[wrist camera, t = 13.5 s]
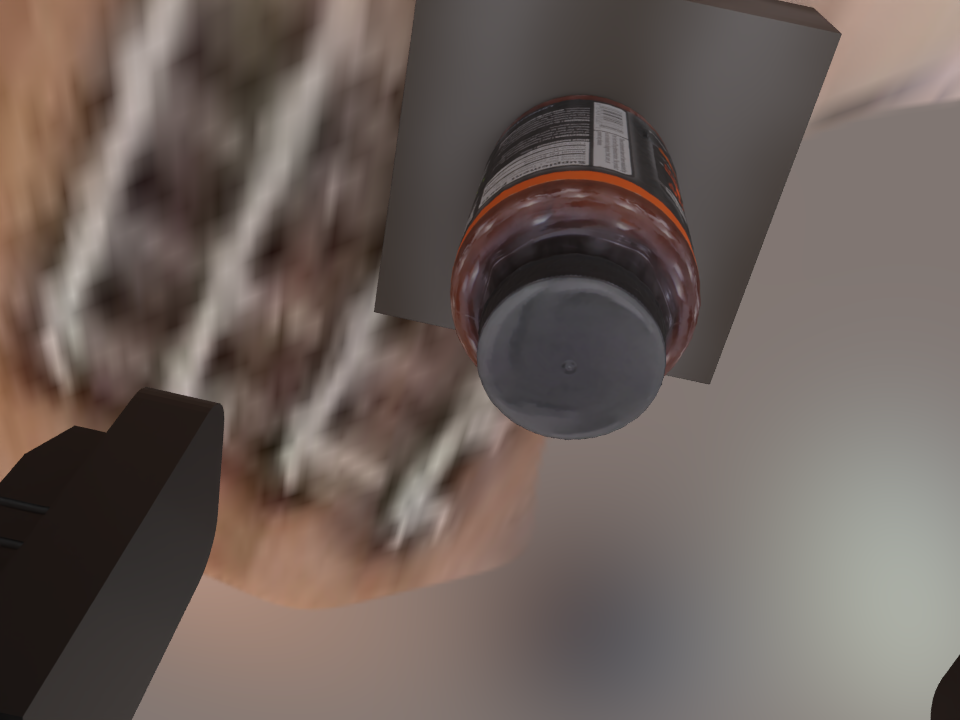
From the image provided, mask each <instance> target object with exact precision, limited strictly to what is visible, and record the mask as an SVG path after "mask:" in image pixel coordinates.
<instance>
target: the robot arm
mask: <svg viewBox="0 0 960 720" xmlns="http://www.w3.org/2000/svg"><path fill="white" fill-rule="evenodd" d="M223 431H224V411H223V407H222V405H221V404H220V403H215V402H211V401H207V400H202V399H198V398H193V397H189V396H184V395H180V394H176V393H171V392H167V391H162V390H158V389H153V388H149V387H144V388H142V389H141V390H139V391H138V392H137V393H136V394H135V396H134V397H133V398H132V399H131V401H130V402H129V403H128V405H127V406H126V407H125V409H124V410H123V411H122V413H121V414H120V415H119V417H118V418H117V419H116V421H115V422H114V423H113V425H112V426H111V427H110V429H109V430H108V431H107V433H106V432H101V431H97V430H92V429H88V428H83V427H79V426H73V427H72V428H70V429H68V430H66V431H65V432H63V433H61V434H59V435H58V436H56V437H54V438H52V439H50V440H49V441H47V442H45V443H43V444H42V445H40V446H38V447H36V448H35V449H33V450H31V451H29V452H28V453H26V454H24V455H23V457H22V458H21V459H20V460H19V461H18V463H17V464H16V465H15V466H14V467H13V468H12V470H11V471H10V472H9V473H8V474H7V475H6V477H5V478H4V479H3V480H2V481H1V482H0V720H132V718H133V716H134V714H135V712H136V710H137V708H138V706H139V704H140V702H141V700H142V697H143V695H144V693H145V691H146V689H147V687H148V685H149V683H150V681H151V679H152V677H153V675H154V673H155V671H156V669H157V667H158V665H159V663H160V661H161V659H162V657H163V655H164V653H165V651H166V649H167V647H168V645H169V642H170V641H171V639H172V637H173V634H174V632H175V630H176V628H177V626H178V624H179V622H180V620H181V618H182V616H183V614H184V611H185V610H186V608H187V606H188V604H189V602H190V600H191V598H192V596H193V594H194V592H195V590H196V588H197V586H198V584H199V581H200V579H201V577H202V575H203V572H204V570H205V567H206V564H207V561H208V558H209V555H210V551H211V548H212V544H213V540H214V536H215V531H216V525H217V517H218V503H219V489H220V474H221V460H222V445H223ZM931 720H960V655H959V657H958V658H957V659H956V660H955V662H954V663H953V665H952V666H951V667H950V669H949V670H948V671H947V673H946V674H945V675H944V677H943V678H942V680H941V681H940V683H939V685H938V687H937V689H936V691H935V694H934V697H933V702H932V707H931Z"/></svg>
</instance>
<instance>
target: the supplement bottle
mask: <svg viewBox="0 0 960 720" xmlns="http://www.w3.org/2000/svg"><path fill="white" fill-rule="evenodd" d="M450 301H451V311H452V317H453V321H454V325H455V329H456V332H457V335H458V337H459V340H460V342H461V343H462V345H463V347H464V349H465V351H466V353H467V354H468V356H469V357H470V358H471V360H472V361H473V362H474V364H475V365H476V366H477V368H478V373H479V377H480V379H481V382H482V385H483V387H484V389H485V391H486V393H487V395H488V397H489V398H490V400H491V401H492V403H493V404H494V405H495V406H496V407H497V408H498V409H499V410H500V411H501V412H502V413H503V414H504V415H505V416H507V417H508V418H509V419H510V420H511V421H513V422H514V423H516V424H517V425H519V426H522V427H523V428H525V429H527V430H529V431H532V432H534V433H536V434H540V435H543V436H546V437H551V438H558V439H565V440H571V439H587V438H593V437H598V436H601V435H606V434H609V433H611V432H613V431H615V430H618V429H620V428H622V427H624V426H626V425H627V424H628V423H630V422H631V421H633V420H635V419H636V418H638V417H639V416H640V415H641V414H642V413H643V412H644V411H645V410H646V409H647V408H648V406H649V405H650V403H651V402H652V401H653V400H654V398H655V396H656V395H657V393H658V390H659V388H660V386H661V385H662V380H663V378H664V376H665V375H666V374H667V373H668V372H669V371H670V370H671V369H672V368H673V367H674V366H675V364H676V363H677V362H678V361H679V359H680V357H681V356H682V354H683V353H684V351H685V350H686V348H687V347H688V345H689V342H690V341H691V339H692V336H693V332H694V330H695V327H696V324H697V320H698V315H699V310H700V306H701V298H700V279H699V273H698V268H697V264H696V260H695V255H694V247H693V245H692V241H691V236H690V232H689V228H688V224H687V221H686V217H685V212H684V208H683V201H682V198H681V194H680V188H679V184H678V180H677V172H676V170H675V167H674V165H673V162H672V159H671V156H670V155H669V153H668V150H667V148H666V146H665V144H664V143H663V141H662V139H661V138H660V136H659V134H658V133H657V132H656V130H655V129H654V128H653V127H652V126H651V125H650V124H649V123H648V122H647V121H646V119H645V118H644V117H642V116H641V115H640V114H638V113H637V112H635V111H634V110H632V109H631V108H629V107H627V106H625V105H623V104H621V103H618V102H615V101H613V100H610V99H607V98H602V97H597V96H592V95H571V96H564V97H560V98H555V99H552V100H549V101H546V102H544V103H541V104H539V105H537V106H535V107H533V108H532V109H530V110H529V111H527V112H525V113H524V114H522V115H521V116H520V117H519V118H517V119H516V120H515V121H514V122H513V123H512V124H511V125H510V126H509V127H508V128H507V129H506V130H505V131H504V133H503V134H502V136H501V138H500V139H499V141H498V142H497V144H496V146H495V148H494V150H493V152H492V153H491V155H490V157H489V159H488V161H487V164H486V167H485V170H484V173H483V176H482V179H481V182H480V185H479V188H478V191H477V194H476V197H475V200H474V203H473V206H472V209H471V212H470V215H469V217H468V221H467V224H466V228H465V231H464V234H463V237H462V240H461V243H460V245H459V248H458V253H457V256H456V259H455V263H454V266H453V271H452V277H451V288H450Z"/></svg>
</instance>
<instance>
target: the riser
mask: <svg viewBox="0 0 960 720" xmlns="http://www.w3.org/2000/svg"><path fill="white" fill-rule="evenodd" d="M840 37H841V33H840V32H839V31H838V30H837V29H836V28H835V27H834V26H833V25H832V24H830V23H829V22H828V21H827V20H826V19H825V18H824V17H823V16H822V15H821V14H820V13H819V12H817V11H816V10H815V9H814V8H811V7H807V6H802V5H797V4H793V3H788V2H783V1H779V0H416V5H415V13H414V20H413V27H412V35H411V42H410V50H409V57H408V64H407V72H406V79H405V87H404V94H403V101H402V109H401V116H400V124H399V131H398V138H397V146H396V153H395V161H394V168H393V176H392V183H391V190H390V198H389V205H388V213H387V220H386V227H385V235H384V242H383V250H382V257H381V264H380V272H379V279H378V287H377V294H376V301H375V309H374V312H376V313H381V314H385V315H390V316H394V317H399V318H404V319H408V320H413V321H418V322H422V323H427V324H431V325H436V326H441V327H445V328H450V329H455V325H454V321H453V317H452V311H451V301H450V288H451V277H452V271H453V266H454V263H455V259H456V256H457V253H458V248H459V245H460V243H461V240H462V237H463V234H464V231H465V228H466V224H467V221H468V217H469V215H470V212H471V209H472V206H473V203H474V200H475V197H476V194H477V191H478V188H479V185H480V182H481V179H482V176H483V173H484V170H485V167H486V164H487V161H488V159H489V157H490V155H491V153H492V152H493V150H494V148H495V146H496V144H497V142H498V141H499V139H500V138H501V136H502V134H503V133H504V131H505V130H506V129H507V128H508V127H509V126H510V125H511V124H512V123H513V122H514V121H515V120H516V119H517V118H519V117H520V116H521V115H522V114H524V113H525V112H527V111H529V110H530V109H532V108H533V107H535V106H537V105H539V104H541V103H544V102H546V101H549V100H552V99H555V98H560V97H564V96H571V95H592V96H597V97H602V98H607V99H610V100H613V101H615V102H618V103H621V104H623V105H625V106H627V107H629V108H631V109H632V110H634V111H635V112H637V113H638V114H640V115H641V116H642V117H644V118H645V119H646V121H647V122H648V123H649V124H650V125H651V126H652V127H653V128H654V129H655V130H656V132H657V133H658V134H659V136H660V138H661V139H662V141H663V143H664V144H665V146H666V148H667V150H668V153H669V155H670V156H671V159H672V162H673V165H674V167H675V170H676V172H677V180H678V184H679V188H680V194H681V198H682V201H683V208H684V212H685V217H686V221H687V224H688V228H689V232H690V236H691V241H692V245H693V247H694V255H695V260H696V264H697V268H698V273H699V279H700V298H701V306H700V310H699V315H698V320H697V324H696V327H695V330H694V332H693V336H692V339H691V341H690V342H689V345H688V347H687V348H686V350H685V351H684V353H683V354H682V356H681V357H680V359H679V361H678V362H677V363H676V364H675V366H674V367H673V368H672V369H671V370H670V371H669V372H668V373H667V374H666V375H668V376H672V377H677V378H682V379H687V380H691V381H696V382H700V383H705V384H710V382H711V379H712V377H713V374H714V372H715V369H716V366H717V364H718V361H719V358H720V356H721V353H722V350H723V348H724V345H725V342H726V340H727V337H728V334H729V332H730V329H731V326H732V324H733V321H734V318H735V316H736V313H737V311H738V308H739V305H740V303H741V300H742V297H743V295H744V292H745V289H746V286H747V284H748V281H749V279H750V276H751V273H752V271H753V268H754V265H755V263H756V260H757V257H758V255H759V252H760V249H761V247H762V244H763V241H764V239H765V236H766V234H767V231H768V228H769V225H770V223H771V220H772V217H773V215H774V212H775V209H776V207H777V204H778V202H779V199H780V196H781V194H782V191H783V188H784V186H785V183H786V180H787V178H788V175H789V172H790V169H791V167H792V165H793V162H794V159H795V157H796V154H797V151H798V149H799V146H800V143H801V141H802V138H803V135H804V133H805V130H806V127H807V125H808V122H809V119H810V117H811V114H812V111H813V109H814V106H815V103H816V101H817V98H818V96H819V93H820V90H821V88H822V85H823V82H824V80H825V77H826V74H827V72H828V69H829V66H830V64H831V61H832V58H833V56H834V53H835V50H836V48H837V45H838V42H839V40H840ZM455 330H456V329H455Z"/></svg>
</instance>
